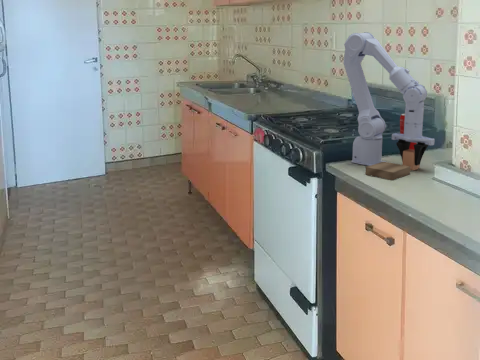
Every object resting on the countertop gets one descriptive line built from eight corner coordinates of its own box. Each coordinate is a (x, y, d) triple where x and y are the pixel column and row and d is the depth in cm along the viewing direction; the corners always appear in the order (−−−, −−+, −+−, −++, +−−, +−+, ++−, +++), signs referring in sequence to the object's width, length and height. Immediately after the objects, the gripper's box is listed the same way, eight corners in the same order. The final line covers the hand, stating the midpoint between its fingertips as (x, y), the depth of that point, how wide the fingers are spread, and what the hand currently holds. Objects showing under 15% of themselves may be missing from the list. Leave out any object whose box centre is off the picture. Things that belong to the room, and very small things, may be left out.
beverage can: (417, 156, 205) (419, 115, 201) (398, 156, 206) (400, 114, 202) (415, 152, 211) (418, 112, 207) (397, 152, 212) (399, 112, 208)
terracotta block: (402, 168, 189) (403, 150, 188) (408, 166, 192) (409, 148, 190) (412, 170, 186) (414, 152, 185) (419, 168, 189) (420, 150, 187)
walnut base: (365, 174, 183) (365, 166, 182) (383, 168, 189) (383, 161, 189) (392, 180, 176) (392, 172, 175) (410, 174, 182) (410, 166, 181)
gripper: (387, 122, 188) (385, 162, 191) (427, 127, 177) (424, 169, 181) (399, 119, 192) (397, 158, 196) (439, 124, 182) (436, 165, 185)
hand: (411, 163), depth 189 cm, fingers closed on terracotta block, 4 cm apart
